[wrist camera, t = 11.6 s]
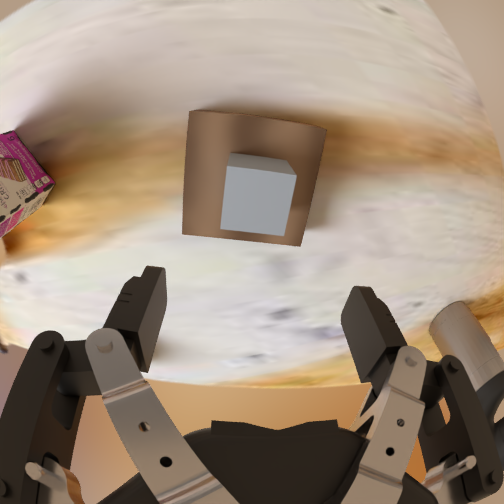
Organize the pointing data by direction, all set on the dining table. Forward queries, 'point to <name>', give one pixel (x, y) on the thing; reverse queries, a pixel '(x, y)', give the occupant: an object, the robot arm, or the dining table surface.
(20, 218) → the candy bar box
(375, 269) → the dining table surface
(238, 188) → the slate cube
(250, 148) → the walnut block
